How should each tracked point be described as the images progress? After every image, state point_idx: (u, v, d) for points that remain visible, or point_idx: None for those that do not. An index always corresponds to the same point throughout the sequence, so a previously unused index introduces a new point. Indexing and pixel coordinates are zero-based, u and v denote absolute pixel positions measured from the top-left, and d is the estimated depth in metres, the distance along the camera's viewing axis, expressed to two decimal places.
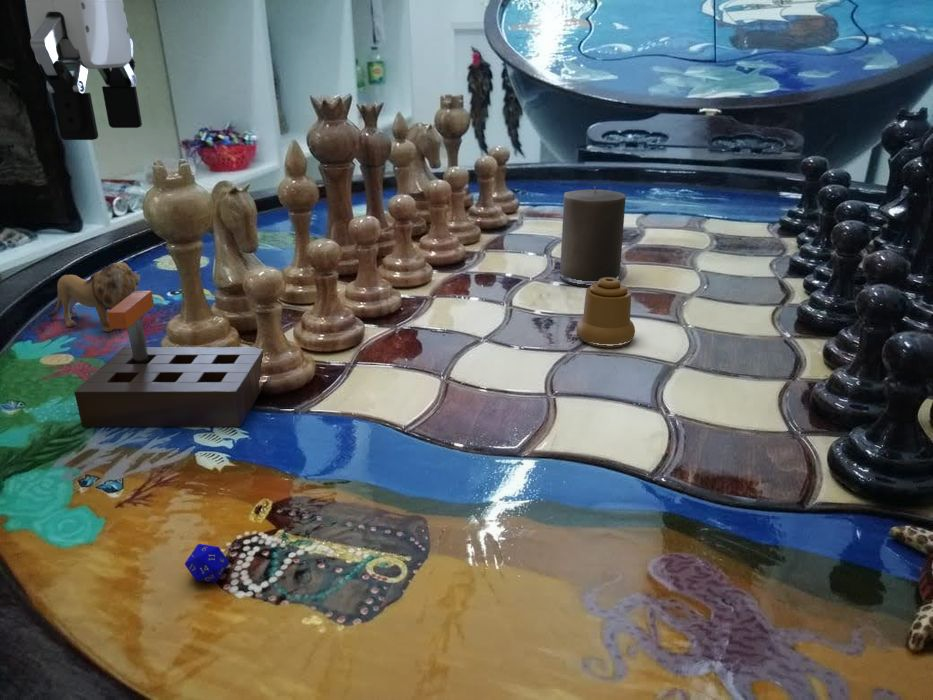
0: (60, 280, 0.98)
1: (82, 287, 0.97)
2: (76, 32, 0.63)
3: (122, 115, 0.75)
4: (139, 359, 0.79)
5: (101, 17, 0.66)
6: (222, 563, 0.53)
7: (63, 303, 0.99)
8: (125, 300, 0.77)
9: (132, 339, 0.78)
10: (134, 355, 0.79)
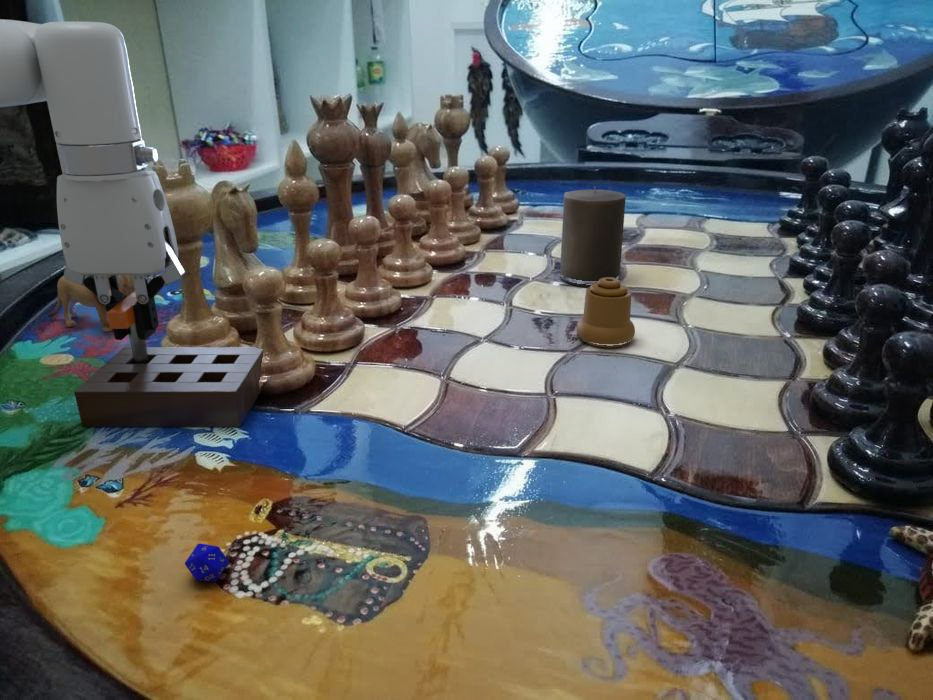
0: (60, 280, 0.98)
1: (82, 287, 0.97)
2: None
3: None
4: (139, 359, 0.79)
5: (89, 235, 0.72)
6: (222, 563, 0.53)
7: (63, 303, 0.99)
8: (125, 300, 0.77)
9: (132, 339, 0.78)
10: (134, 355, 0.79)
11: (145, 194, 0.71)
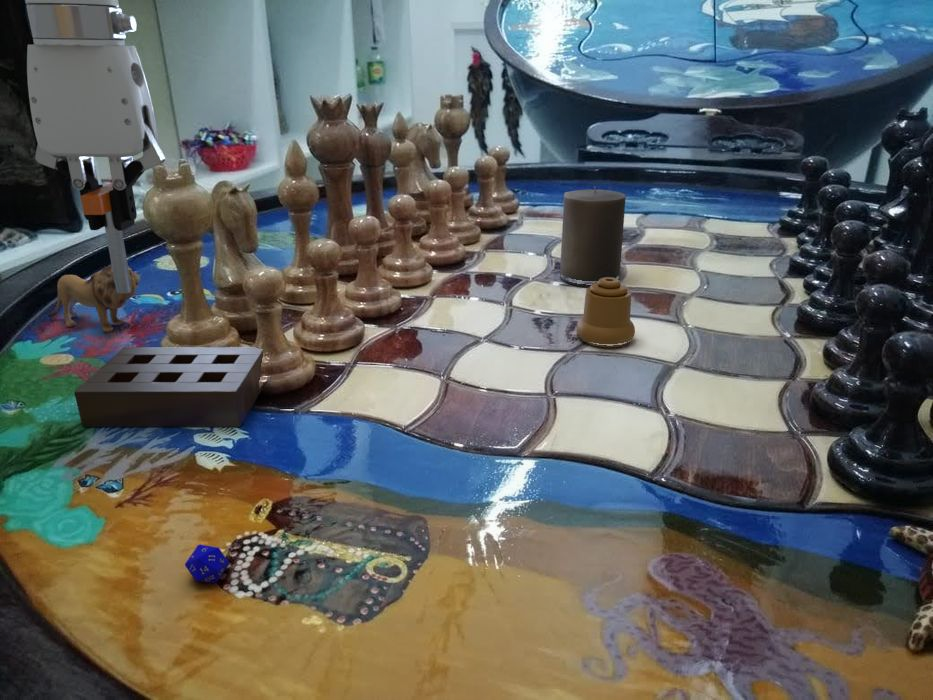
0: (60, 280, 0.98)
1: (82, 287, 0.97)
2: None
3: None
4: (116, 254, 0.74)
5: (62, 110, 0.67)
6: (222, 564, 0.53)
7: (63, 303, 0.99)
8: (101, 188, 0.73)
9: (108, 231, 0.73)
10: (110, 249, 0.74)
11: (122, 64, 0.66)
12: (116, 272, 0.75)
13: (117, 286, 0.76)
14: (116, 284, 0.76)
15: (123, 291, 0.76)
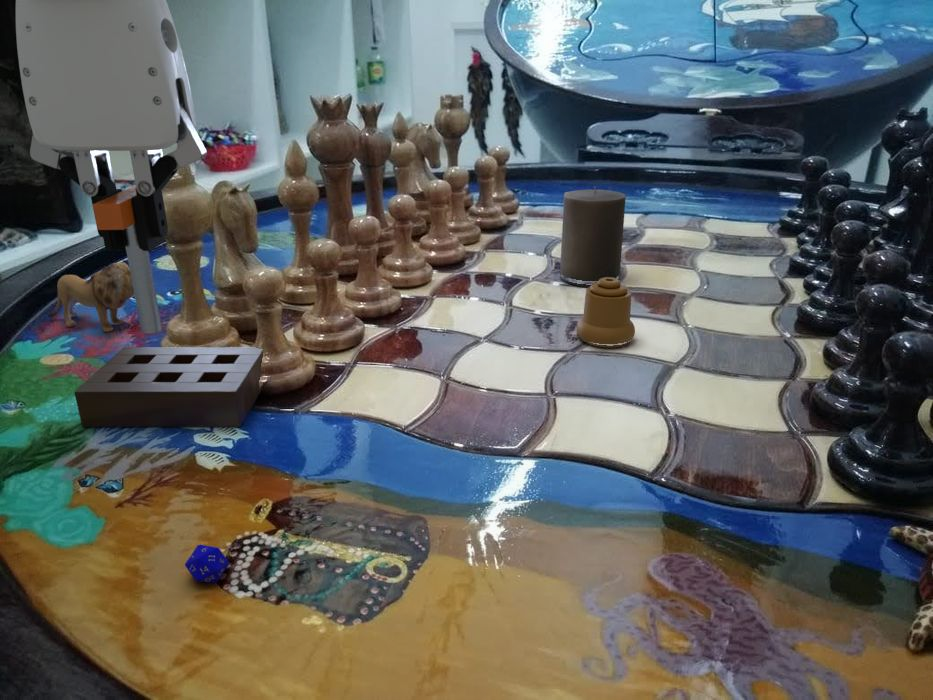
0: (60, 280, 0.98)
1: (82, 287, 0.97)
2: None
3: None
4: (141, 282, 0.55)
5: (66, 85, 0.48)
6: (222, 564, 0.53)
7: (63, 303, 0.99)
8: (120, 193, 0.53)
9: (130, 252, 0.54)
10: (133, 275, 0.55)
11: (149, 19, 0.47)
12: (141, 306, 0.56)
13: (142, 324, 0.57)
14: (141, 321, 0.57)
15: (150, 330, 0.57)
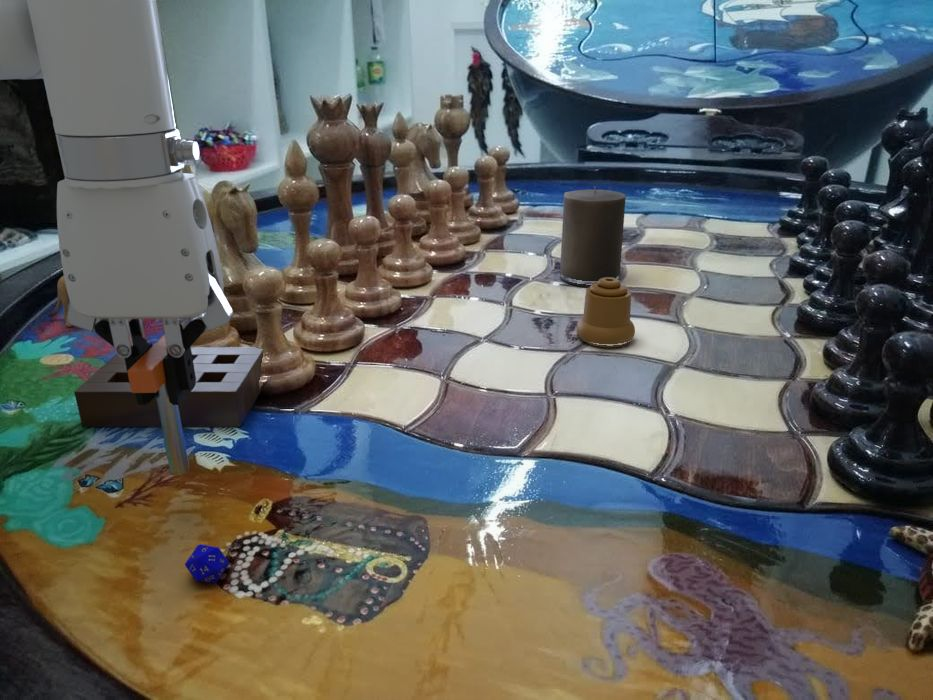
0: (60, 280, 0.98)
1: None
2: None
3: None
4: (170, 430, 0.58)
5: (103, 265, 0.51)
6: (222, 564, 0.53)
7: (63, 303, 0.99)
8: (151, 351, 0.56)
9: (160, 404, 0.57)
10: (163, 424, 0.58)
11: (182, 206, 0.50)
12: (170, 451, 0.59)
13: (171, 467, 0.59)
14: (170, 464, 0.59)
15: (179, 472, 0.60)
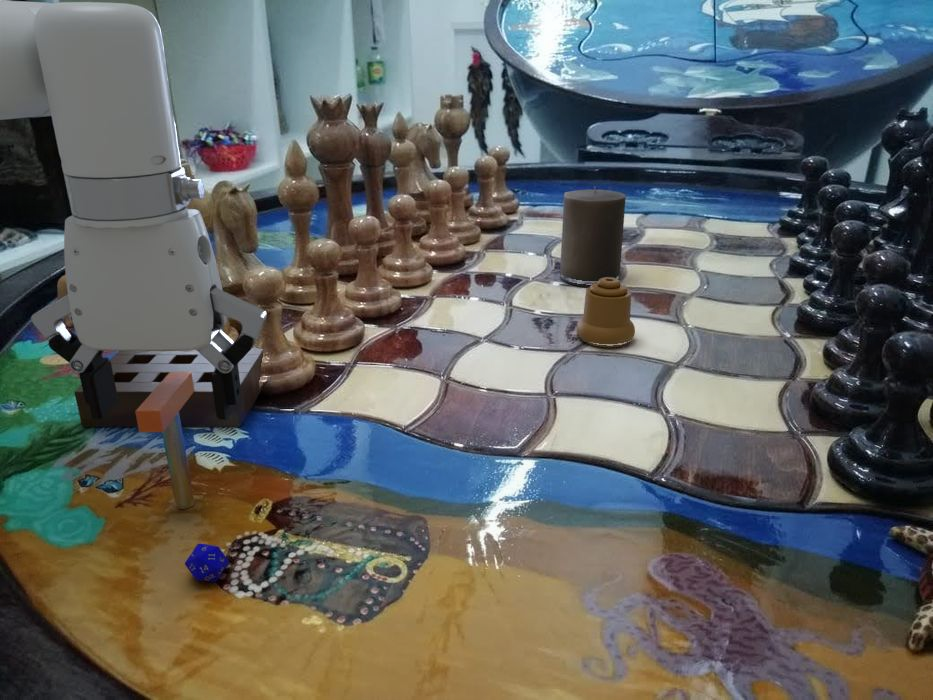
0: (60, 280, 0.98)
1: None
2: None
3: None
4: (176, 466, 0.59)
5: (109, 300, 0.52)
6: (222, 563, 0.53)
7: None
8: (158, 389, 0.58)
9: (167, 441, 0.58)
10: (169, 460, 0.59)
11: (187, 244, 0.51)
12: (176, 485, 0.60)
13: (177, 501, 0.61)
14: (175, 498, 0.61)
15: (184, 506, 0.61)
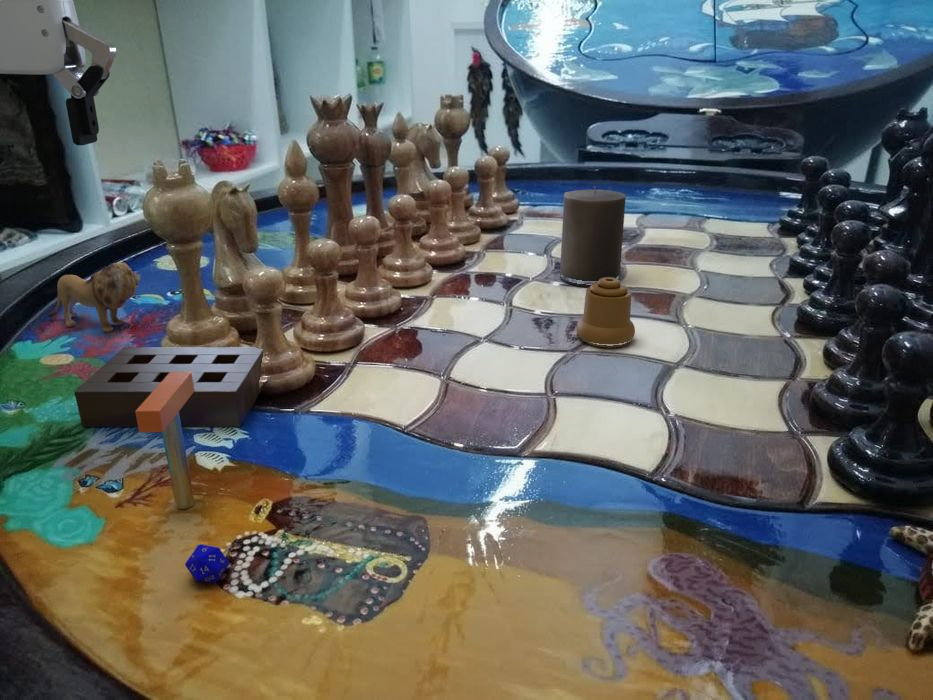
0: (60, 280, 0.98)
1: (82, 287, 0.97)
2: None
3: None
4: (176, 466, 0.59)
5: None
6: (222, 564, 0.53)
7: (63, 303, 0.99)
8: (158, 389, 0.58)
9: (167, 441, 0.58)
10: (169, 460, 0.59)
11: None
12: (176, 485, 0.60)
13: (177, 501, 0.61)
14: (175, 498, 0.61)
15: (184, 506, 0.61)
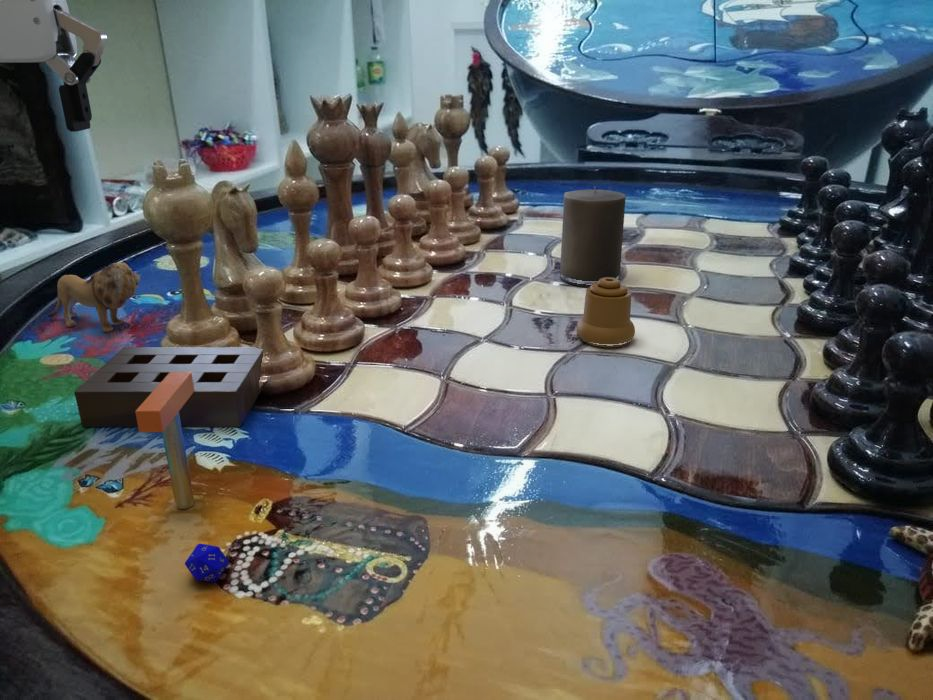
0: (60, 280, 0.98)
1: (82, 287, 0.97)
2: None
3: None
4: (176, 466, 0.59)
5: None
6: (222, 563, 0.53)
7: (63, 303, 0.99)
8: (158, 389, 0.58)
9: (167, 441, 0.58)
10: (169, 460, 0.59)
11: None
12: (176, 485, 0.60)
13: (177, 501, 0.61)
14: (175, 498, 0.61)
15: (184, 506, 0.61)
